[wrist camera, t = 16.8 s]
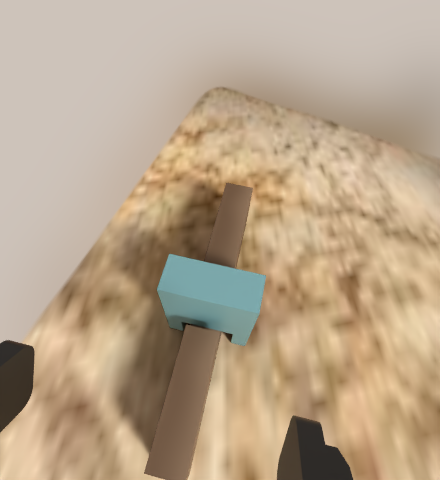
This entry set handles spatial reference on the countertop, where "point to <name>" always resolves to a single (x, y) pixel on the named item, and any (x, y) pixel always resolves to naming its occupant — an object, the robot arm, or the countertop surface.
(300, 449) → the robot arm
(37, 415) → the countertop surface
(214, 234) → the walnut slotted plate
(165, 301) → the teal notched bridge block
